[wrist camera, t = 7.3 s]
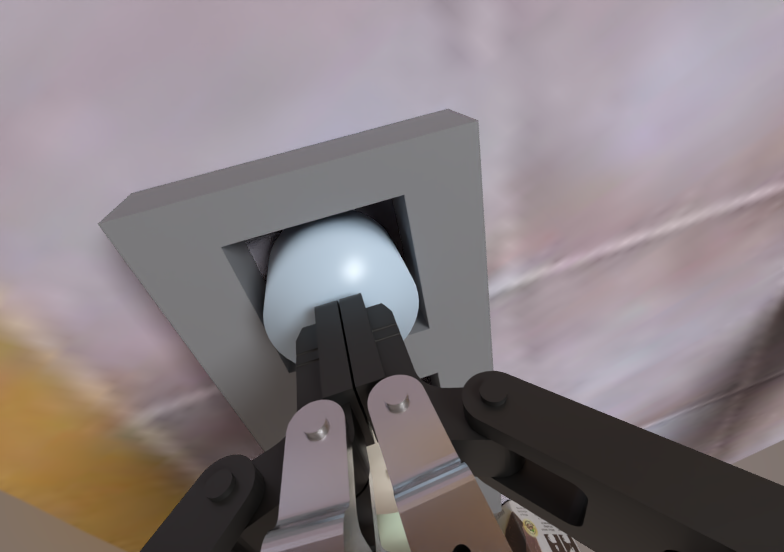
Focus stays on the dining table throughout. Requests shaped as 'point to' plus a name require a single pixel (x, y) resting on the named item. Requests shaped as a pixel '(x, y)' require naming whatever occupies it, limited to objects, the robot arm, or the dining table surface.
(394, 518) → the sage button
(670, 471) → the robot arm
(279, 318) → the blue button
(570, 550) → the coffee box
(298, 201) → the button board
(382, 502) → the cream button
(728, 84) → the dining table surface
